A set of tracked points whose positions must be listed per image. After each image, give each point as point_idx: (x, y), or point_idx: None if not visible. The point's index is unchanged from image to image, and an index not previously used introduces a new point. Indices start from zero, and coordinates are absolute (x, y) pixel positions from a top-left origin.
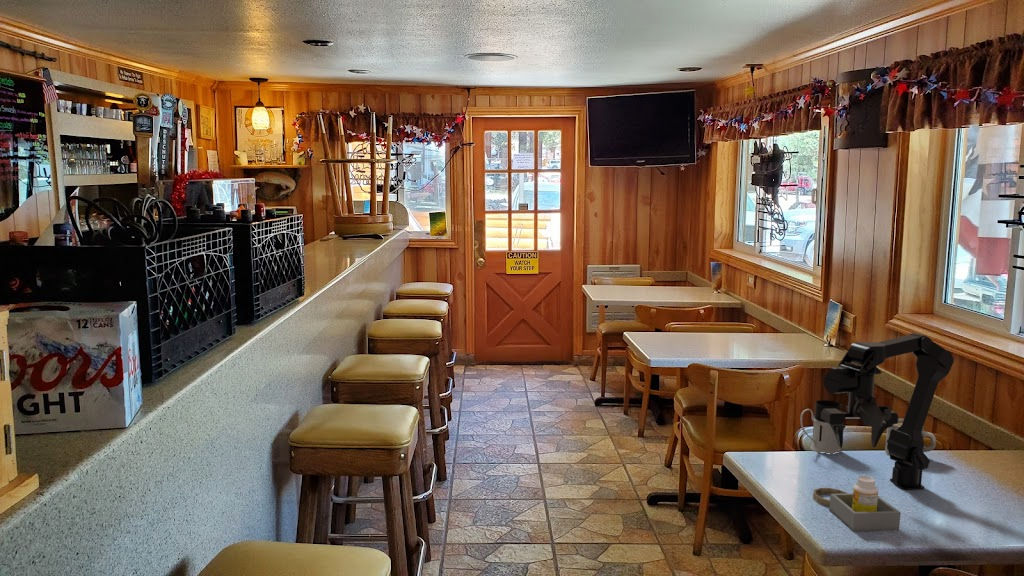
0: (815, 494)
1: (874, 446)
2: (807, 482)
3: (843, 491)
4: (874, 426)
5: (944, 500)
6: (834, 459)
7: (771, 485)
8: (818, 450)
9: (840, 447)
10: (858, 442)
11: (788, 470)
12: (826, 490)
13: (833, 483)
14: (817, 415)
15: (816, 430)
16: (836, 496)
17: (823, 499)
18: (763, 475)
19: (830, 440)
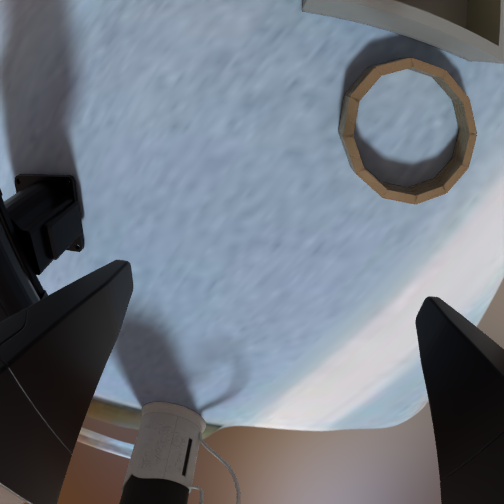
0: (469, 156)
1: (123, 263)
2: (376, 282)
3: (350, 149)
4: (45, 442)
5: (6, 91)
6: (178, 386)
7: (484, 278)
8: (197, 419)
9: (438, 298)
10: (91, 416)
11: (359, 357)
12: (393, 189)
13: (292, 261)
14: (186, 499)
15: (193, 465)
16: (500, 33)
17: (471, 109)
18: None
19: (167, 435)
